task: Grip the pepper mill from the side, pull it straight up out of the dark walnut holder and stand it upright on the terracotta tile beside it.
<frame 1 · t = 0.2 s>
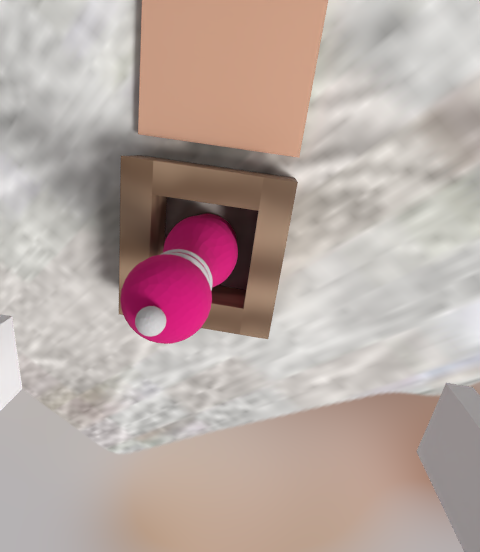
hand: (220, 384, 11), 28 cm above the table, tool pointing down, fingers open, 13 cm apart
terracotta tile: (229, 54, 32), on the table
walnut holder: (209, 241, 38), on the table
pepper mill: (209, 241, 38), resting in walnut holder
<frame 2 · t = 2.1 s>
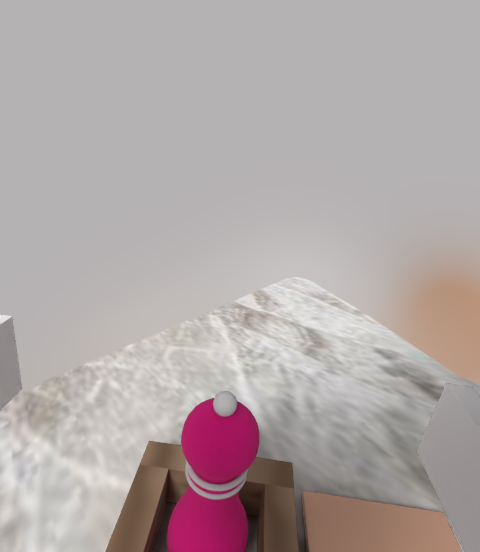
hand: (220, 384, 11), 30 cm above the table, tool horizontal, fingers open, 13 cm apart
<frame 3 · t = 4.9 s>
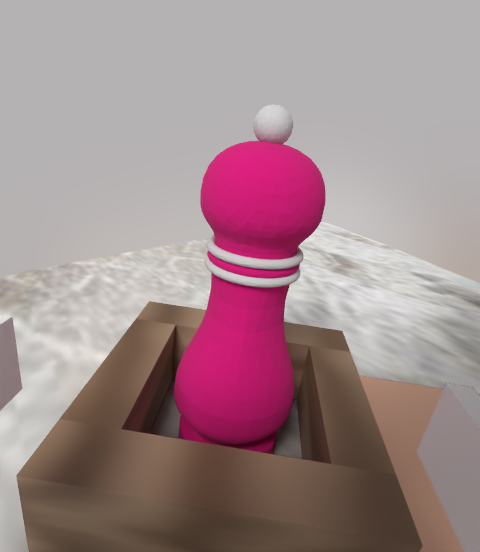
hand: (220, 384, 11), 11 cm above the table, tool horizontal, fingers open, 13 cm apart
walnut holder: (226, 439, 23), on the table
pepper mill: (226, 442, 23), resting in walnut holder
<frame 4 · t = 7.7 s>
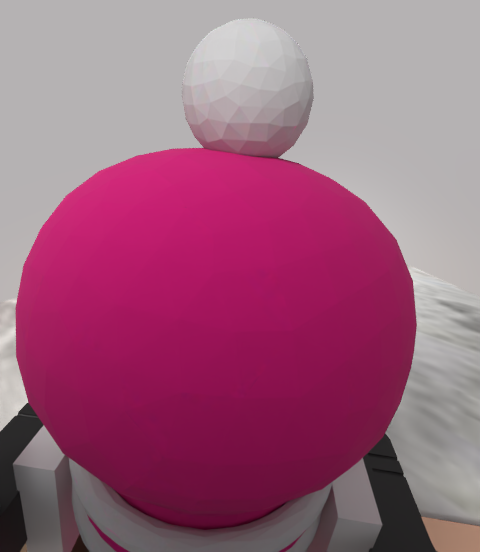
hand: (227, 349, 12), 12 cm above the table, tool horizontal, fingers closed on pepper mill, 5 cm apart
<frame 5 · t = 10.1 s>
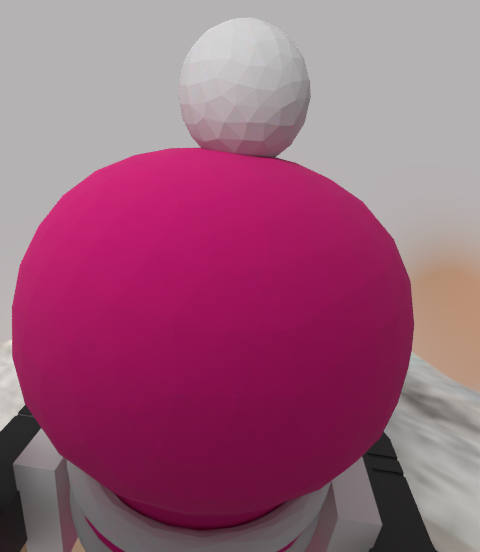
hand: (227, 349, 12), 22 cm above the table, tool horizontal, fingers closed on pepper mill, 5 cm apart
when the fingers open (14 cm above the table, at t = 12.9 s): pepper mill drops 1 cm, resting on terracotta tile.
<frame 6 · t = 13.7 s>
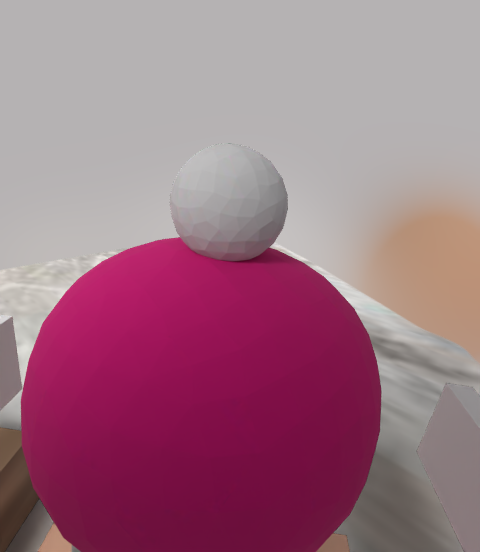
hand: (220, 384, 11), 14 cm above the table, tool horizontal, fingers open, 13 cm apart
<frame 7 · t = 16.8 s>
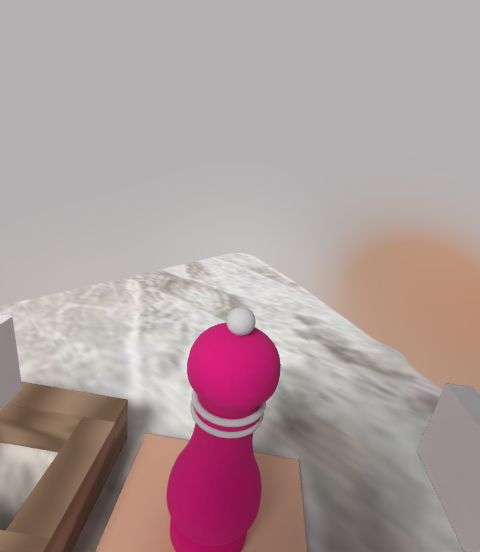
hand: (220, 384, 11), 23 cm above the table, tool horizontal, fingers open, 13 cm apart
terracotta tile: (208, 534, 28), on the table
pepper mill: (208, 528, 28), point 1 cm above the table, touching terracotta tile
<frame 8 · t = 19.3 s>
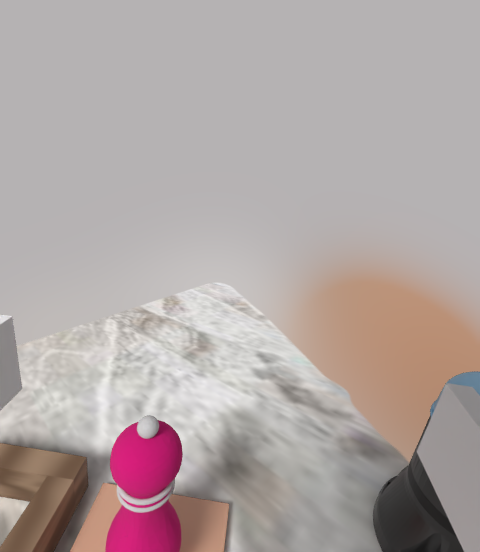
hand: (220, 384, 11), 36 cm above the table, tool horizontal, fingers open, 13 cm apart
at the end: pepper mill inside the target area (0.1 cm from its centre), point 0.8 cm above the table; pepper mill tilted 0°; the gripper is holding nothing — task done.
